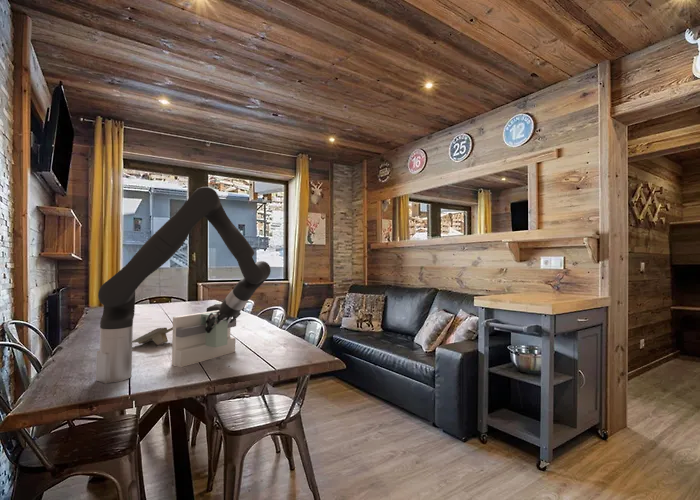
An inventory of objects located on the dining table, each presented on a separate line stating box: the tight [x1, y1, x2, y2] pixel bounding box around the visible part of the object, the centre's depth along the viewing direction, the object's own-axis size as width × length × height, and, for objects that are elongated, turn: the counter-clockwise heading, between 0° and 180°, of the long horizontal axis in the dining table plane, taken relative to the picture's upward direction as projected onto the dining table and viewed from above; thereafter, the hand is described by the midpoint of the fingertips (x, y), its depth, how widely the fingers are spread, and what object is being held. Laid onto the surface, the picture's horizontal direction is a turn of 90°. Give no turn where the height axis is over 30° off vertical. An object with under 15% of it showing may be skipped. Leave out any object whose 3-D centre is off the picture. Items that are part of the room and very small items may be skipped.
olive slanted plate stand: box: [132, 326, 173, 346], centre depth 166 cm, size 16×9×15 cm
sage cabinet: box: [201, 312, 228, 347], centre depth 145 cm, size 6×9×12 cm, turn 60°
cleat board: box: [171, 310, 237, 368], centre depth 147 cm, size 26×6×18 cm, turn 150°
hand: (213, 329), depth 145 cm, fingers closed on sage cabinet, 5 cm apart
